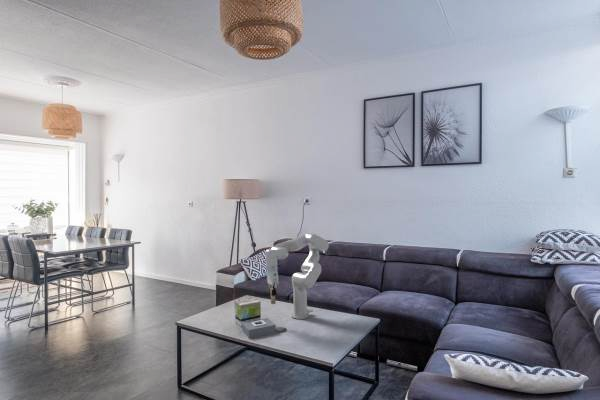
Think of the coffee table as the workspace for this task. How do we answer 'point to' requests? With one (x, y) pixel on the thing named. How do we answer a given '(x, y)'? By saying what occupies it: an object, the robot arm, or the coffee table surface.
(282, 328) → the coaster
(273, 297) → the stylus
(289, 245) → the robot arm
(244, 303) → the tea box
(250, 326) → the grey socket block
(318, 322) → the coffee table surface
